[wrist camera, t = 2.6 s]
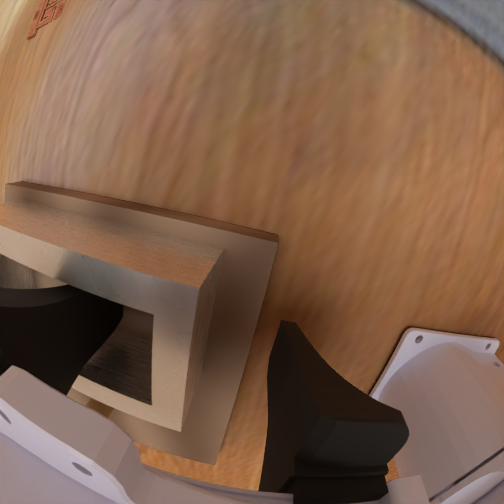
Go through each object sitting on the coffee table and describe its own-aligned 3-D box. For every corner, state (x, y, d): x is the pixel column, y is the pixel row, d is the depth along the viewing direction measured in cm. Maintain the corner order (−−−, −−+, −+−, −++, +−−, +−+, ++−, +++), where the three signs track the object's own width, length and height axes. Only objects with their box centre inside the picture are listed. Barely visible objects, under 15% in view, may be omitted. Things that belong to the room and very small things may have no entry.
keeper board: (277, 234, 12) (283, 317, 5) (218, 450, 17) (201, 528, 10) (22, 181, 12) (-69, 199, 5) (46, 381, 17) (3, 431, 10)
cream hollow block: (224, 248, 11) (198, 288, 7) (201, 372, 13) (180, 431, 9) (21, 199, 11) (-31, 212, 7) (27, 303, 13) (-13, 331, 9)
